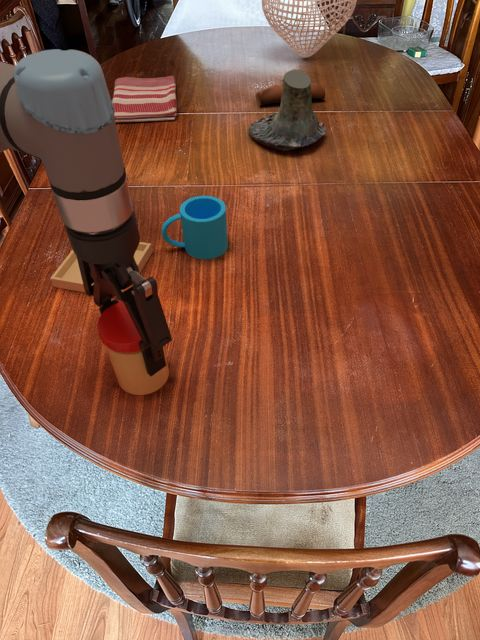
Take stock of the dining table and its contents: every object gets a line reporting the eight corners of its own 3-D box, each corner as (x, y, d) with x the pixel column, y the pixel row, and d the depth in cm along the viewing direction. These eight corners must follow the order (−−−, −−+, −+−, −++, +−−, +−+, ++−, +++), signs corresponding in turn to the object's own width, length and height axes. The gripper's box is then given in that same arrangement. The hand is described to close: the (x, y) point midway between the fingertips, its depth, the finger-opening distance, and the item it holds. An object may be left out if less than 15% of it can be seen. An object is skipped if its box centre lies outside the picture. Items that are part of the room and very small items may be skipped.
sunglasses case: (315, 87, 142) (321, 70, 136) (321, 109, 141) (327, 93, 135) (253, 93, 139) (256, 76, 133) (258, 116, 138) (261, 99, 132)
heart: (340, 45, 165) (350, -39, 149) (356, 63, 155) (368, -25, 139) (256, 51, 161) (256, -35, 144) (267, 70, 151) (268, -20, 135)
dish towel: (175, 83, 145) (174, 73, 143) (178, 120, 129) (176, 110, 127) (115, 86, 143) (113, 76, 141) (110, 124, 128) (108, 114, 126)
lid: (87, 340, 67) (83, 330, 66) (124, 302, 72) (122, 292, 70) (138, 361, 65) (135, 352, 63) (173, 320, 69) (171, 311, 68)
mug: (224, 230, 99) (221, 193, 93) (231, 256, 94) (229, 218, 88) (162, 238, 97) (156, 200, 91) (166, 264, 92) (159, 227, 86)
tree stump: (305, 114, 133) (321, 46, 118) (332, 167, 125) (353, 102, 109) (239, 120, 129) (246, 50, 113) (262, 176, 120) (273, 109, 105)
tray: (53, 287, 88) (49, 278, 87) (87, 241, 97) (85, 233, 95) (124, 299, 86) (121, 290, 85) (152, 252, 95) (151, 243, 93)
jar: (109, 389, 74) (90, 341, 66) (129, 351, 79) (115, 302, 71) (158, 399, 73) (145, 352, 65) (176, 360, 77) (166, 311, 69)
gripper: (189, 241, 52) (207, 378, 69) (74, 168, 61) (115, 304, 78) (130, 276, 48) (164, 411, 65) (17, 192, 57) (73, 330, 75)
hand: (137, 352), depth 72 cm, fingers closed on lid, 8 cm apart
